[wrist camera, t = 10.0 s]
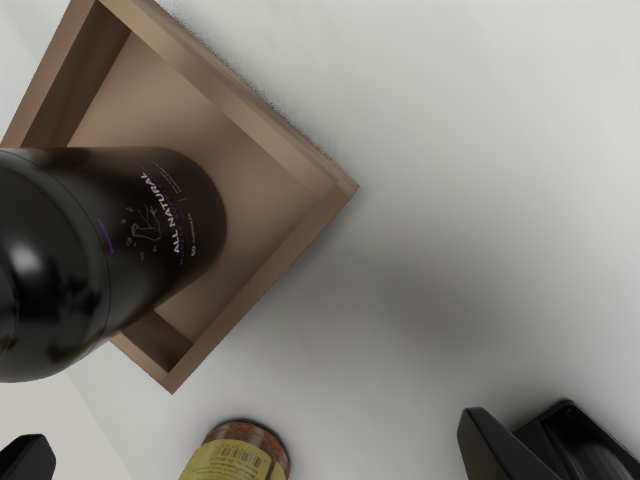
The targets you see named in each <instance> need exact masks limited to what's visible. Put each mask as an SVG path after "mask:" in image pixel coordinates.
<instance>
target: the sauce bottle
mask: <svg viewBox="0 0 640 480" xmlns="http://www.w3.org/2000/svg"><path fill="white" fill-rule="evenodd" d="M289 473H290V471H289V464H288V458H287V456H286V454H285V452H284V450H283V448H282V446H281V445H280V443H279V441H278V440H277V439H276V438H275V437H274V436H272V434H270V433H269V432H268V431H267V430H264V429H262V428H259V427H257V426H256V425H254V424H251V423H244V422H230V423H226V424H222V425H221V426H219V427H217V428H215V429H213V430H212V431H211V432H210V433H209V434H208V435H207V436H206V438H205V440H204V442H203V443H202V445H201V447H200V448H199V449H197V450H196V451H195V453H194V454H193V456H192V457H191V459H190V461H189V462H188V464H187V466H186V467H185V469H184V471H183V473H182V474H181V476H180V478H179V479H178V480H288V477H289Z"/></svg>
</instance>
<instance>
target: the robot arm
mask: <svg viewBox="0 0 640 480" xmlns="http://www.w3.org/2000/svg"><path fill="white" fill-rule="evenodd" d="M568 409H572V410H571V411H570V412H565V411H566V410H568ZM457 439H458V444H459V447H460V451H461V454H462V458H463V462H464V465H465V469H466V472H467V476H468V479H469V480H640V461H639V460H638V459H637V458H635V457H634V456H633V455H632V454H631V453H630V452H629V451H628V450H627V449H625V448H624V447H623V446H622V445H621V444H620V443H619V442H618V441H617V440H616V439H614V438H613V437H612V436H611V435H610V434H609V433H608V432H607V431H606V430H604V429H603V428H602V427H601V426H600V425H599V424H598V423H597V422H596V421H595V420H593V419H592V418H591V417H590V416H589V415H588V414H587V413H586V412H585V411H583V410H582V409H581V408H580V407H579V406H578V405H577V404H576V403H574V402H573V401H570V400H563V401H561V402H559V403H558V404H556V405H555V406H553V407H552V408H550V409H549V410H547V411H546V412H544V413H543V414H541V415H540V416H539V417H537V418H536V419H534V420H533V421H531V422H530V423H528V424H527V425H525V426H524V427H522V428H521V429H519V430H518V431H516V432H515V433H514V434H511V433H510V432H509V431H508V430H507V429H506V428H505V427H504V426H503V425H502V424H501V423H500V422H498V421H497V420H496V419H495V418H494V417H493V416H492V415H491V414H490V413H489V412H488V411H486V410H485V409H484V408H481V407H473V408H465V409H464V410H463V412H462V415H461V419H460V423H459V426H458V430H457ZM55 466H56V458H55V455H54V453H53V451H52V449H51V447H50V446H49V443H48V441H47V439H46V437H45V436H44V435H42V434H27V435H22V436H19V437H18V438H16V439H15V440H13V441H12V442H11V443H10V444H9V445H7V446H6V447H5V448H4V449H3V450H1V451H0V480H51V479H52V476H53V473H54V470H55Z"/></svg>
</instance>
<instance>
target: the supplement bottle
mask: <svg viewBox="0 0 640 480" xmlns="http://www.w3.org/2000/svg"><path fill="white" fill-rule="evenodd" d="M223 235H224V218H223V212H222V208H221V204H220V201H219V198H218V196H217V194H216V191H215V190H214V188H213V186H212V184H211V183H210V181H209V180H208V178H207V177H206V176H205V175H204V173H203V172H202V171H201V170H200V169H199V168H198V167H197V166H195V165H194V164H193V163H192V162H191V161H189V160H188V159H186V158H184V157H183V156H181V155H179V154H177V153H175V152H173V151H170V150H167V149H163V148H158V147H148V146H113V147H42V148H0V382H1V383H16V382H27V381H33V380H38V379H43V378H46V377H49V376H52V375H54V374H56V373H59V372H61V371H63V370H65V369H66V368H68V367H70V366H71V365H73V364H75V363H76V362H78V361H79V360H81V359H83V358H84V357H86V356H87V355H88V354H90V353H91V352H93V351H94V350H96V349H97V348H99V347H100V346H102V345H103V344H105V343H106V342H108V341H109V340H110V339H112V338H113V337H115V336H116V335H118V334H119V333H121V332H122V331H124V330H125V329H126V328H128V327H129V326H131V325H132V324H134V323H135V322H137V321H138V320H140V319H141V318H143V317H144V316H145V315H147V314H148V313H150V312H151V311H153V310H154V309H156V308H157V307H159V306H160V305H162V304H163V303H164V302H166V301H167V300H169V299H170V298H172V297H173V296H175V295H176V294H178V293H179V292H181V291H182V290H183V289H185V288H186V287H188V286H189V285H190V284H192V283H193V282H195V281H196V280H197V279H199V278H200V277H201V276H202V275H203V274H205V273H206V272H207V270H208V269H209V268H210V267H211V266H212V264H213V263H214V261H215V260H216V258H217V256H218V253H219V251H220V248H221V245H222V241H223Z"/></svg>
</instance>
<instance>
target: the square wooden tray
mask: <svg viewBox="0 0 640 480" xmlns="http://www.w3.org/2000/svg"><path fill="white" fill-rule="evenodd" d="M113 146H148V147H158V148H163V149H167V150H170V151H173V152H175V153H177V154H179V155H181V156H183V157H184V158H186V159H188V160H189V161H191V162H192V163H193V164H194V165H195V166H197V167H198V168H199V169H200V170H201V171H202V172H203V173H204V175H205V176H206V177H207V178H208V180H209V181H210V183H211V184H212V186H213V188H214V190H215V191H216V194H217V196H218V198H219V201H220V204H221V208H222V212H223V218H224V235H223V241H222V245H221V248H220V251H219V253H218V256H217V258H216V260H215V261H214V263H213V264H212V266H211V267H210V268H209V269H208V270H207V272H206V273H205V274H203V275H202V276H201V277H200V278H199V279H197V280H196V281H195V282H193V283H192V284H190V285H189V286H188V287H186V288H185V289H183V290H182V291H181V292H179V293H178V294H176V295H175V296H173V297H172V298H170V299H169V300H167V301H166V302H164V303H163V304H162V305H160V306H159V307H157V308H156V309H154V310H153V311H151V312H150V313H148V314H147V315H145V316H144V317H143V318H141V319H140V320H138V321H137V322H135V323H134V324H132V325H131V326H129V327H128V328H126V329H125V330H124V331H122V332H121V333H119V334H118V335H116V336H115V337H113V338H112V339H110V340H109V341H110V342H112V343H113V344H114V345H115V346H116V347H117V348H119V349H120V350H121V351H122V352H123V353H124V354H126V355H127V356H128V357H129V358H130V359H131V360H132V361H134V362H135V363H136V364H137V365H138V366H139V367H141V368H142V369H143V370H144V371H145V372H146V373H148V374H149V375H150V376H151V377H152V378H153V379H155V380H156V381H157V382H158V383H159V384H160V385H161V386H163V387H164V388H165V389H166V390H167V391H168V392H170V393H171V394H172V395H173V394H174V392H175V391H176V390H177V389H178V388H179V387H180V386H181V385H182V384H183V382H184V381H185V380H186V379H187V378H188V377H189V376H190V375H191V374H192V373H193V371H194V370H195V369H196V368H197V367H198V366H199V365H200V364H201V363H202V362H203V360H204V359H205V358H206V357H207V356H208V355H209V354H210V353H211V352H212V351H213V349H214V348H215V347H216V346H217V345H218V344H219V343H220V342H221V341H222V340H223V338H224V337H225V336H226V335H227V334H228V333H229V332H230V331H231V330H232V329H233V327H234V326H235V325H236V324H237V323H238V322H239V321H240V320H241V319H242V318H243V316H244V315H245V314H246V313H247V312H248V311H249V310H250V309H251V308H252V307H253V305H254V304H255V303H256V302H257V301H258V300H259V299H260V298H261V297H262V296H263V294H264V293H265V292H266V291H267V290H268V289H269V288H270V287H271V286H272V285H273V283H274V282H275V281H276V280H277V279H278V278H279V277H280V276H281V275H282V273H283V272H284V271H285V270H286V269H287V268H288V267H289V266H290V265H291V264H292V262H293V261H294V260H295V259H296V258H297V257H298V256H299V255H300V254H301V253H302V251H303V250H304V249H305V248H306V247H307V246H308V245H309V244H310V243H311V242H312V240H313V239H314V238H315V237H316V236H317V235H318V234H319V233H320V232H321V231H322V229H323V228H324V227H325V226H326V225H327V224H328V223H329V222H330V221H331V220H332V218H333V217H334V216H335V215H336V214H337V213H338V212H339V211H340V210H341V209H342V207H343V206H344V205H345V204H346V203H347V202H348V201H349V200H350V199H351V197H352V196H353V194H354V193H355V192H356V190H357V189H358V187H359V186H358V185H357V184H356V183H355V182H354V181H353V180H352V179H351V178H350V177H348V176H347V175H346V174H345V173H344V172H343V171H342V170H341V169H340V168H339V167H337V166H336V165H335V164H334V163H333V162H332V161H331V160H330V159H329V158H327V157H326V156H325V155H324V154H323V153H322V152H321V151H320V150H319V149H318V148H316V147H315V146H314V145H313V144H312V143H311V142H310V141H309V140H308V139H307V138H305V137H304V136H303V135H302V134H301V133H300V132H299V131H298V130H297V129H295V128H294V127H293V126H292V125H291V124H290V123H289V122H288V121H287V120H286V119H284V118H283V117H282V116H281V115H280V114H279V113H278V112H277V111H276V110H275V109H273V108H272V107H271V106H270V105H269V104H268V103H267V102H266V101H265V100H264V99H262V98H261V97H260V96H259V95H258V94H257V93H256V92H255V91H254V90H252V89H251V88H250V87H249V86H248V85H247V84H246V83H245V82H244V81H243V80H241V79H240V78H239V77H238V76H237V75H236V74H235V73H234V72H233V71H232V70H230V69H229V68H228V67H227V66H226V65H225V64H224V63H223V62H222V61H220V60H219V59H218V58H217V57H216V56H215V55H214V54H213V53H212V52H211V51H209V50H208V49H207V48H206V47H205V46H204V45H203V44H202V43H201V42H200V41H198V40H197V39H196V38H195V37H194V36H193V35H192V34H191V33H190V32H188V31H187V30H186V29H185V28H184V27H183V26H182V25H181V24H180V23H179V22H177V21H176V20H175V19H174V18H173V17H172V16H171V15H170V14H169V13H168V12H166V11H165V10H164V9H163V8H162V7H161V6H160V5H159V4H158V3H156V2H155V1H154V0H71V1H70V3H69V5H68V7H67V9H66V11H65V13H64V15H63V18H62V20H61V22H60V24H59V26H58V28H57V30H56V32H55V34H54V36H53V38H52V40H51V42H50V44H49V46H48V48H47V50H46V52H45V54H44V56H43V58H42V60H41V62H40V64H39V66H38V68H37V70H36V72H35V74H34V76H33V78H32V81H31V83H30V85H29V87H28V89H27V91H26V93H25V95H24V97H23V99H22V101H21V103H20V105H19V107H18V109H17V111H16V113H15V115H14V117H13V119H12V121H11V123H10V125H9V127H8V129H7V131H6V133H5V135H4V137H3V139H2V141H1V143H0V148H42V147H113Z"/></svg>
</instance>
